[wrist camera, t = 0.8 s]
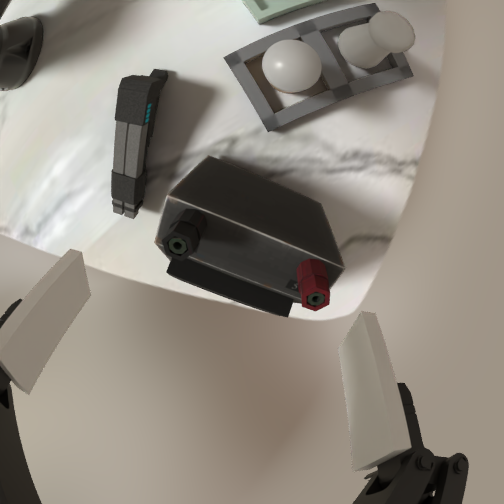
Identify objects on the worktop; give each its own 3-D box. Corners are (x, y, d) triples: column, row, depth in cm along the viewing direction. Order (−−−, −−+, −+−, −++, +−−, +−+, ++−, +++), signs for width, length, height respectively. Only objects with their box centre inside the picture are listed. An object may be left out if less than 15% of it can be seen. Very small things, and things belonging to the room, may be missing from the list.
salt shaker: (346, 75, 27) (384, 64, 16) (325, 37, 24) (353, 7, 13) (383, 63, 25) (435, 53, 14) (364, 26, 23) (407, -1, 12)
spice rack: (226, 59, 27) (207, 45, 18) (370, 7, 21) (400, -17, 12) (268, 130, 32) (266, 142, 23) (407, 76, 25) (448, 74, 17)
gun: (179, 68, 28) (138, 92, 21) (163, 180, 43) (136, 221, 37) (149, 63, 27) (104, 87, 21) (140, 173, 43) (111, 212, 36)
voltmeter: (178, 248, 42) (127, 346, 26) (210, 153, 34) (147, 214, 17) (270, 284, 45) (265, 392, 28) (319, 200, 36) (354, 296, 20)
